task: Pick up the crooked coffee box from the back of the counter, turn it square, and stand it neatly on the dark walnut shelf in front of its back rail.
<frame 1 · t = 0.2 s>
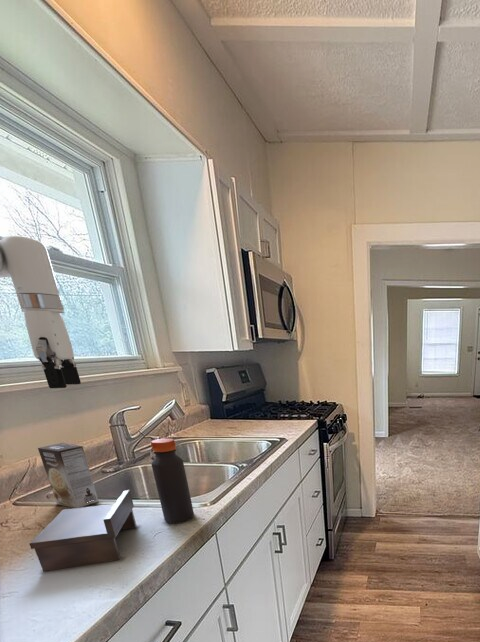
hand: (66, 386, 95), 32 cm above the countertop, tool pointing down, fingers open, 9 cm apart
bottle: (180, 519, 102), on the countertop
coffee box: (78, 503, 112), on the countertop
shelf: (95, 546, 88), on the countertop
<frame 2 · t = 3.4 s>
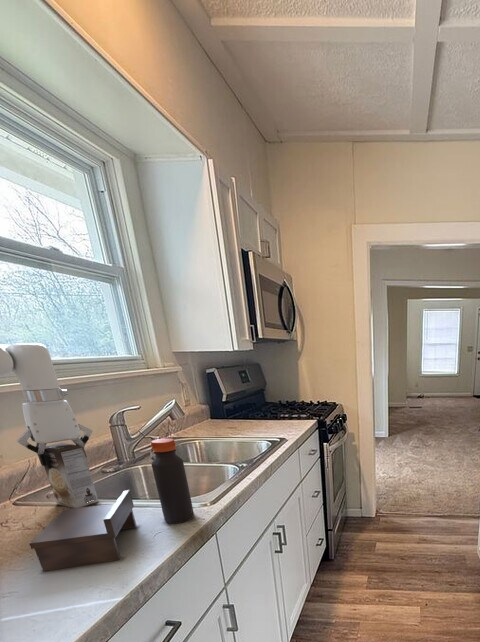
hand: (65, 464, 108), 11 cm above the countertop, tool pointing down, fingers closed on coffee box, 7 cm apart
coffee box: (78, 503, 112), on the countertop, touching gripper
everything else where it was.
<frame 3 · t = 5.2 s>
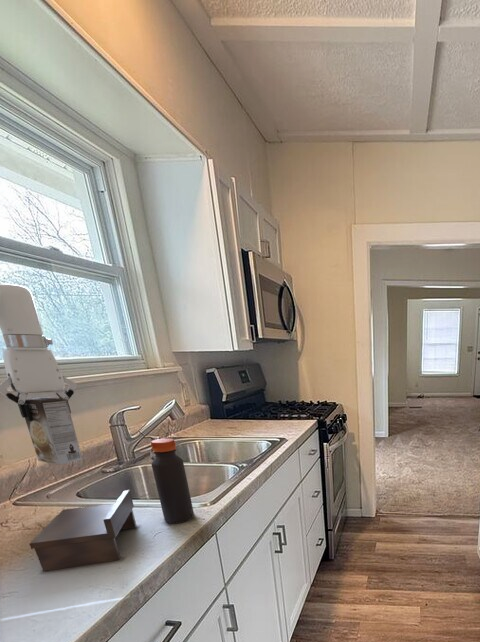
hand: (48, 417, 102), 24 cm above the countertop, tool pointing down, fingers closed on coffee box, 7 cm apart
coffee box: (61, 461, 107), point 12 cm above the countertop, touching gripper
everything else where it was.
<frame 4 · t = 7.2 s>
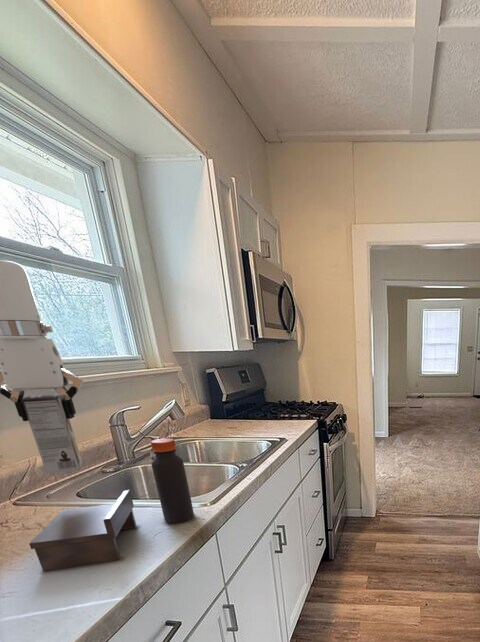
hand: (49, 418, 89), 26 cm above the countertop, tool pointing down, fingers closed on coffee box, 7 cm apart
coffee box: (65, 468, 93), point 14 cm above the countertop, touching gripper
everything else where it was.
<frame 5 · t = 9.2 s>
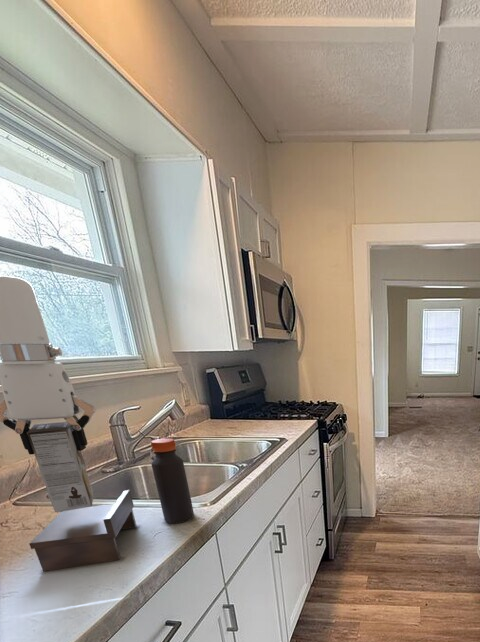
hand: (58, 450, 79), 21 cm above the countertop, tool pointing down, fingers closed on coffee box, 7 cm apart
coffee box: (75, 503, 84), point 10 cm above the countertop, touching gripper
everything else where it was.
when the fingers open (17 cm above the countertop, at t = 10.9 s): coffee box stays where it is, resting on shelf.
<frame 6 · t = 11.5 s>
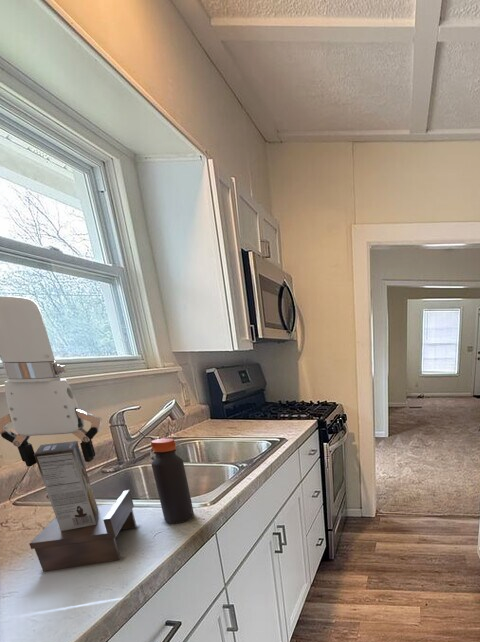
hand: (61, 462, 80), 19 cm above the countertop, tool pointing down, fingers open, 9 cm apart
coffee box: (81, 521, 85), point 6 cm above the countertop, touching shelf
everything else where it was.
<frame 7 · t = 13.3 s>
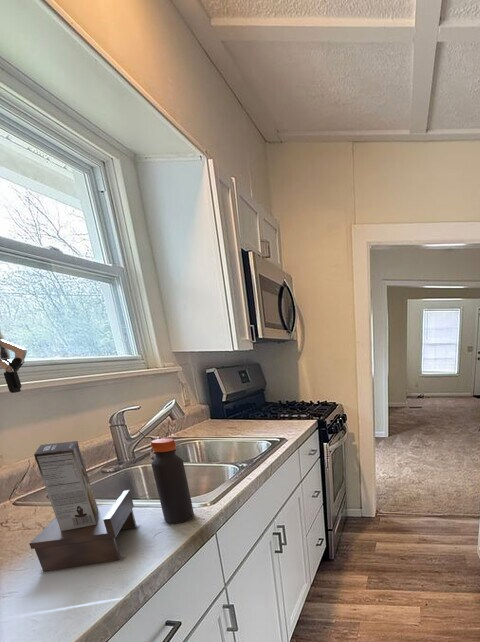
nothing on the countertop moved.
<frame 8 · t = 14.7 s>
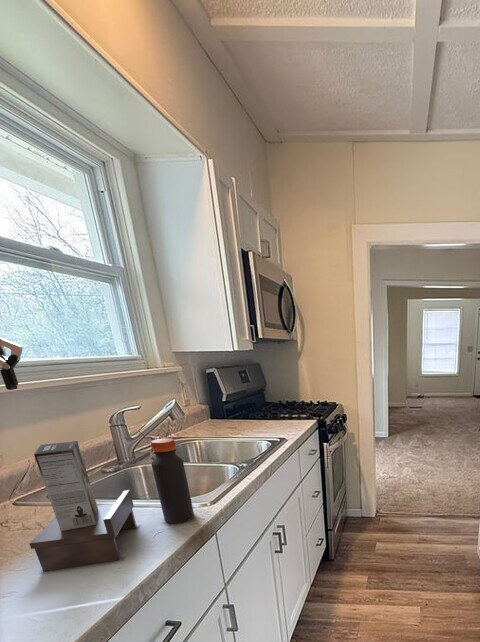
nothing on the countertop moved.
at the end: coffee box inside the target area on the shelf (0.6 cm from its centre), point 6.0 cm above the shelf's base; coffee box tilted 0°; the gripper is holding nothing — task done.
